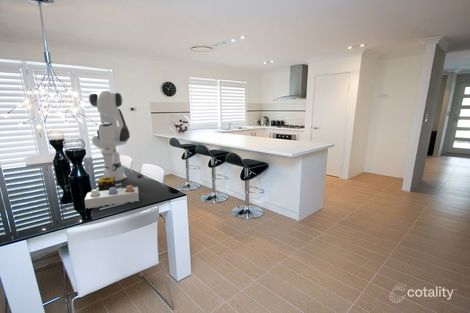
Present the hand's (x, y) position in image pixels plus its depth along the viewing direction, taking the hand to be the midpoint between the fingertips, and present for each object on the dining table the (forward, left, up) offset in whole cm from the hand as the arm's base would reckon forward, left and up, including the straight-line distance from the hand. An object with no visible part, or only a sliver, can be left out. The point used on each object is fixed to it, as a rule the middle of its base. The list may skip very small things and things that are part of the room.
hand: (110, 170), depth 148 cm
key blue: (0, 0, -17) cm, 17 cm away
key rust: (0, +10, -17) cm, 20 cm away
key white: (0, -10, -17) cm, 20 cm away
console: (0, 0, -21) cm, 21 cm away
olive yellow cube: (-20, -5, -21) cm, 30 cm away
